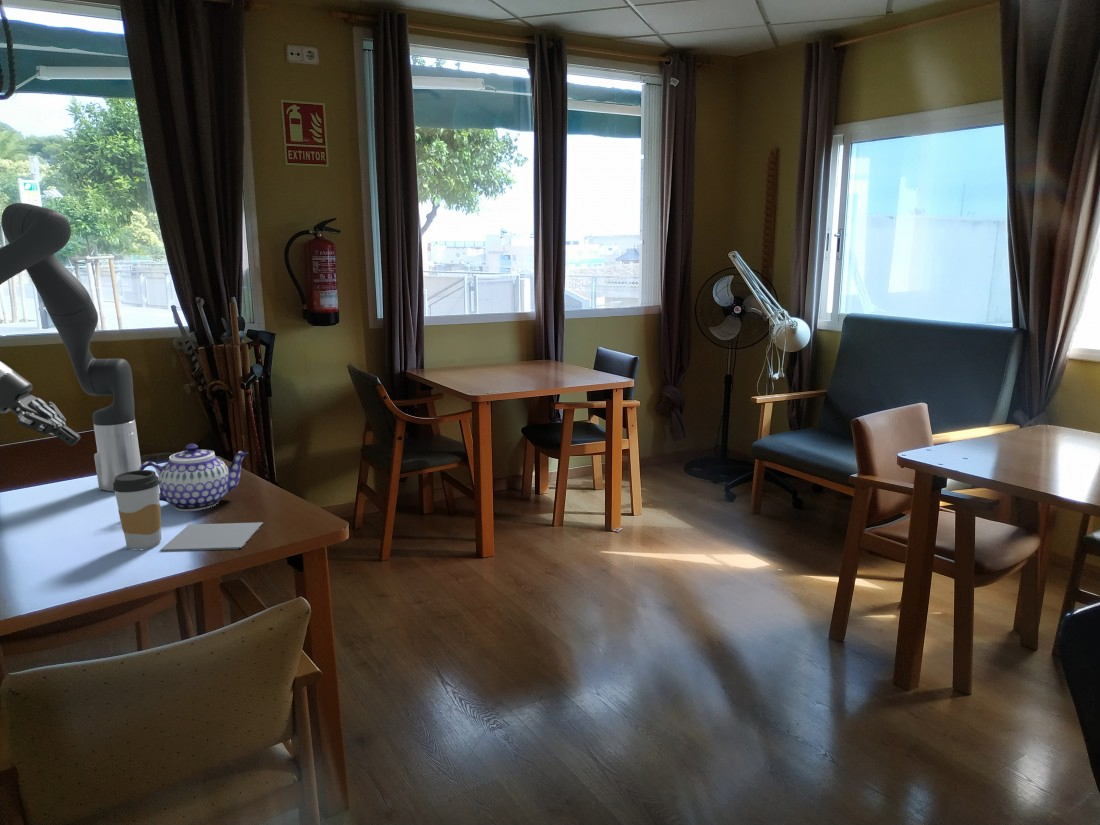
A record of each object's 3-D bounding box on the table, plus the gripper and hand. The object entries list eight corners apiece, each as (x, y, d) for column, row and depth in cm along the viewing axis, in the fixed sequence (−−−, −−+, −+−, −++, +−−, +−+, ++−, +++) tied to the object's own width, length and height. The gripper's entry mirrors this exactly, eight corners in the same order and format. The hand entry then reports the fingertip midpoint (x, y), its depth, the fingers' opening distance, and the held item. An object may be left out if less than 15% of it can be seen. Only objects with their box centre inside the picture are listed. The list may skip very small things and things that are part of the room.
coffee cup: (152, 534, 160) (143, 467, 156) (175, 541, 155) (167, 472, 152) (112, 547, 153) (102, 477, 149) (136, 555, 148) (126, 483, 145)
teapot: (139, 524, 166) (131, 459, 163) (136, 504, 179) (128, 444, 175) (258, 504, 178) (252, 443, 175) (247, 487, 191) (242, 430, 188)
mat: (160, 551, 150) (160, 549, 150) (189, 526, 164) (188, 524, 164) (241, 548, 151) (241, 546, 151) (263, 524, 165) (263, 522, 165)
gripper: (-7, 374, 136) (77, 435, 141) (24, 365, 149) (100, 421, 154) (-35, 404, 136) (50, 464, 141) (-2, 392, 148) (75, 448, 154)
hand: (76, 441), depth 148 cm, fingers closed
